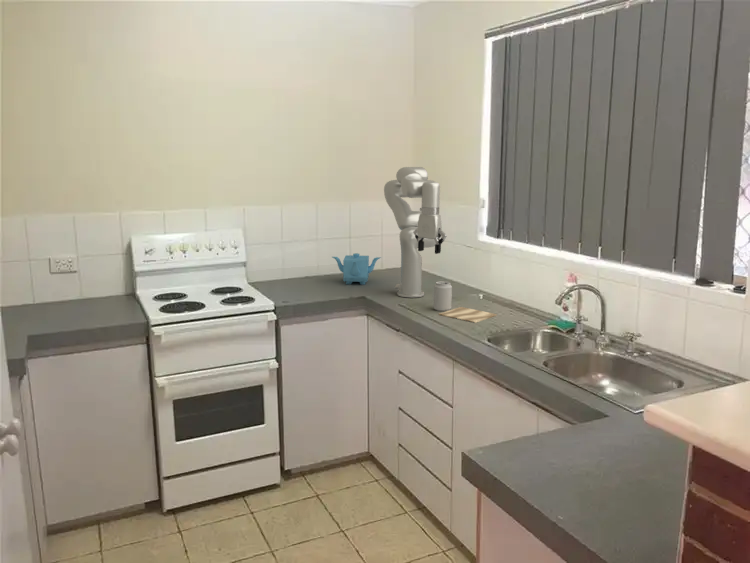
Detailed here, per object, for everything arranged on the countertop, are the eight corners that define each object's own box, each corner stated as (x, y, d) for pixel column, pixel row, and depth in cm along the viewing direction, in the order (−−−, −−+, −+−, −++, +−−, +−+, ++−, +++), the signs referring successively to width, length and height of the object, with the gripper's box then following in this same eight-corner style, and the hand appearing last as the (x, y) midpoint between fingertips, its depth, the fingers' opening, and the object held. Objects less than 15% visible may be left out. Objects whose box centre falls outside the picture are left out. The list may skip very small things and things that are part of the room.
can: (450, 312, 282) (451, 284, 280) (432, 311, 284) (433, 283, 281) (451, 308, 289) (452, 280, 287) (434, 307, 291) (435, 280, 288)
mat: (438, 314, 278) (438, 313, 278) (460, 307, 290) (460, 306, 290) (475, 322, 266) (475, 321, 266) (496, 315, 278) (496, 314, 278)
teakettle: (357, 277, 352) (357, 249, 349) (382, 282, 339) (382, 254, 336) (329, 282, 339) (329, 253, 336) (354, 288, 326) (354, 258, 323)
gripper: (408, 210, 286) (407, 250, 290) (441, 213, 275) (440, 255, 278) (419, 209, 291) (418, 248, 295) (452, 212, 280) (451, 253, 284)
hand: (429, 251), depth 287 cm, fingers open, 8 cm apart
